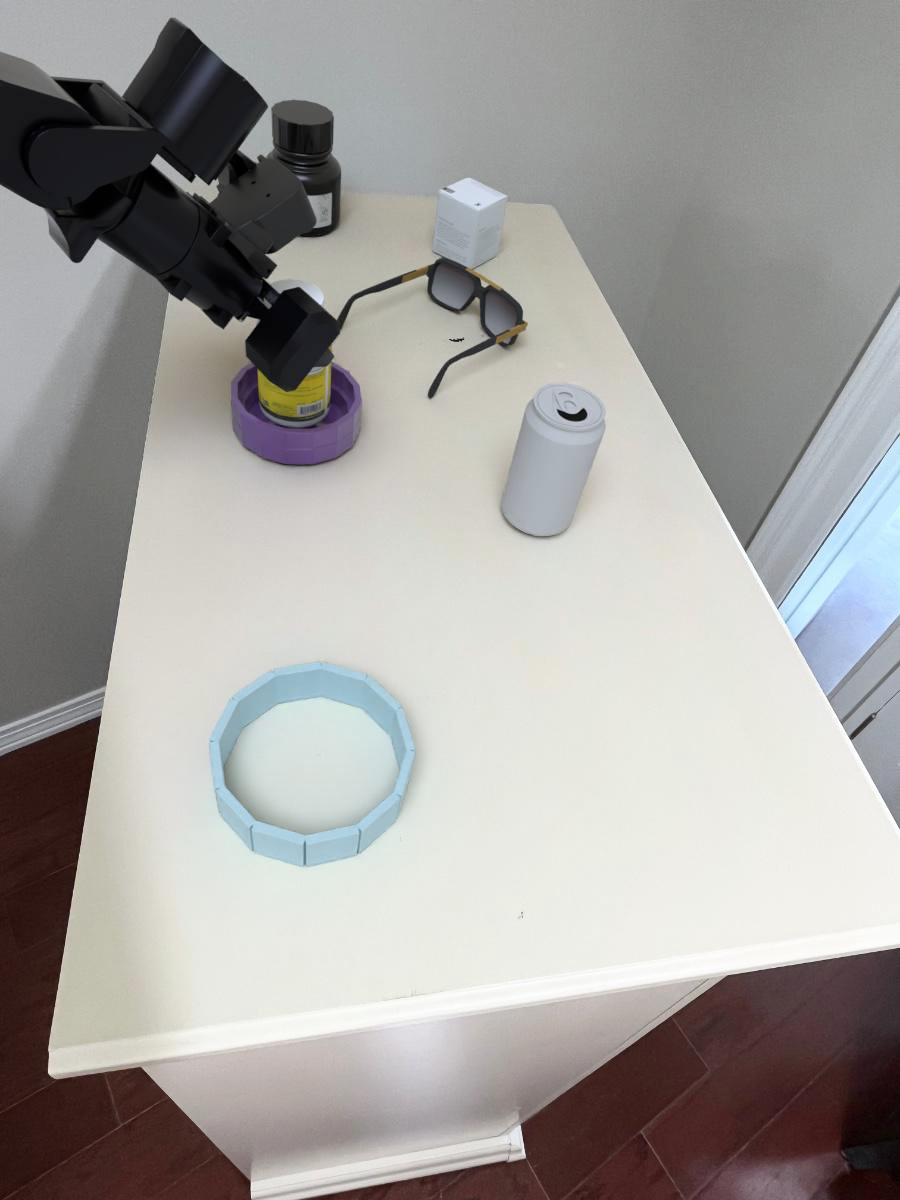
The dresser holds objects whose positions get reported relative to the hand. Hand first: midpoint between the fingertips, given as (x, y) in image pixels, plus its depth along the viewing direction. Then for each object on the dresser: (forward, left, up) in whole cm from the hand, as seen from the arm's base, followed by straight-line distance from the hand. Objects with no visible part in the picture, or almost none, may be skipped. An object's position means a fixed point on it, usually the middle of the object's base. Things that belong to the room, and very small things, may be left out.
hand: (308, 340), depth 66 cm
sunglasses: (+7, +18, -9) cm, 21 cm away
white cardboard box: (+6, +38, -9) cm, 40 cm away
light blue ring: (+12, -33, -9) cm, 36 cm away
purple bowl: (-1, -1, -9) cm, 9 cm away
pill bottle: (-1, -1, -7) cm, 7 cm away
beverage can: (+22, -4, -9) cm, 24 cm away
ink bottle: (-14, +36, -9) cm, 40 cm away
